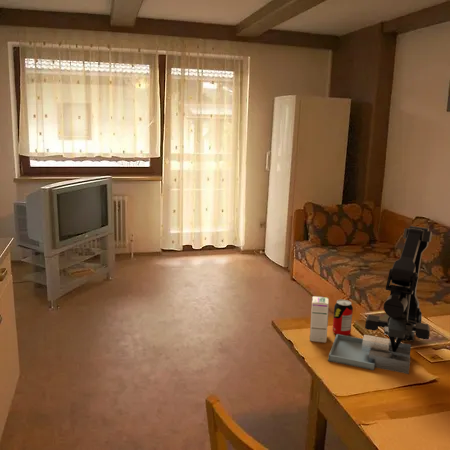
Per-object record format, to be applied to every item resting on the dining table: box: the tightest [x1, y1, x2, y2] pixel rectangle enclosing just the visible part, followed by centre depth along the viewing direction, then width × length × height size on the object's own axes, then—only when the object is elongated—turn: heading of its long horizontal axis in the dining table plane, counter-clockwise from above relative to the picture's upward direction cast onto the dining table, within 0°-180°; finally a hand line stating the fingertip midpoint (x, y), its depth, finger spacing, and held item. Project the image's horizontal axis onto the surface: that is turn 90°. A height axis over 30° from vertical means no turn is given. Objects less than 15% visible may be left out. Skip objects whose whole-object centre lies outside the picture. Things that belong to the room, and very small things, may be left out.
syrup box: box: [309, 295, 330, 344], centre depth 165 cm, size 6×6×14 cm
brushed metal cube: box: [362, 334, 378, 353], centre depth 154 cm, size 4×4×4 cm
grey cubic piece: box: [375, 336, 390, 353], centre depth 153 cm, size 4×4×4 cm
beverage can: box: [332, 298, 354, 336], centre depth 169 cm, size 6×6×12 cm
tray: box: [327, 334, 376, 371], centre depth 157 cm, size 16×14×2 cm
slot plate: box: [368, 341, 412, 375], centre depth 153 cm, size 12×12×4 cm
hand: (394, 351), depth 152 cm, fingers closed
